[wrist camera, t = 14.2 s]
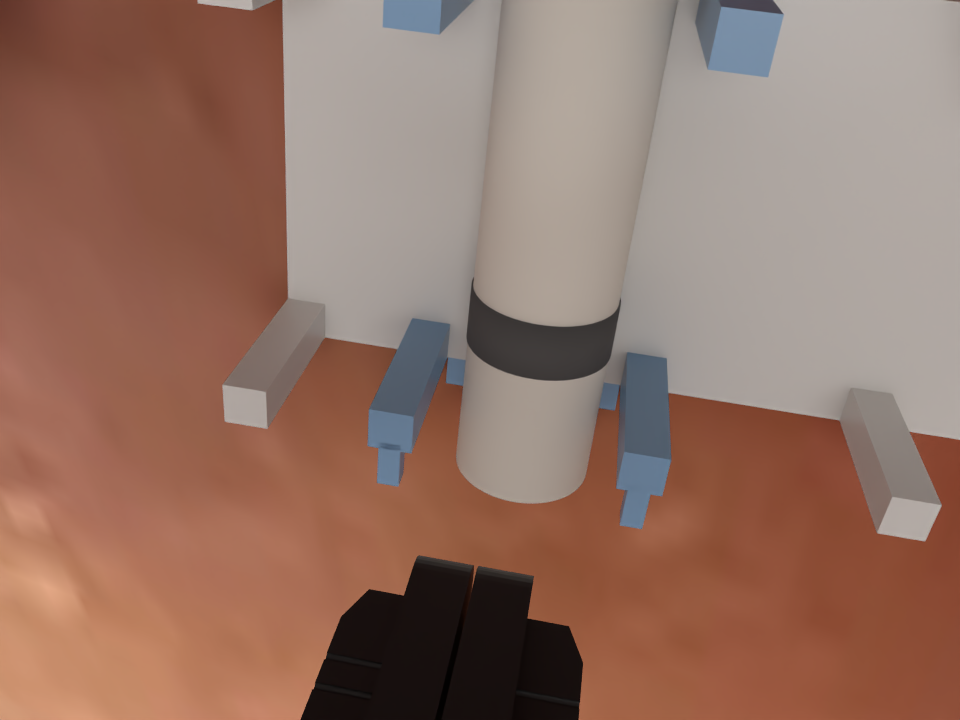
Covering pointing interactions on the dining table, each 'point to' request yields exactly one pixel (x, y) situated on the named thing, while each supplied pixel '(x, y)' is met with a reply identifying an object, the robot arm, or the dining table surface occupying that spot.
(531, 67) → the banded cream tube
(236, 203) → the dining table surface
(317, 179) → the white pegged rack
